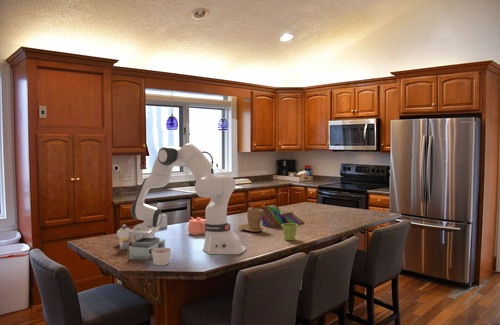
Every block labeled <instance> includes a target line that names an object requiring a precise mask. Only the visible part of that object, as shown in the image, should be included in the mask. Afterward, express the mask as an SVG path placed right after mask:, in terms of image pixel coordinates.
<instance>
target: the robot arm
mask: <svg viewBox="0 0 500 325" xmlns="http://www.w3.org/2000/svg"><path fill="white" fill-rule="evenodd" d="M174 167H186V168H187V169H189V171H190V172H191V174H192V175H193V177H194V179H195V185H194V190H195V191H194V192H195V193H196V195H197V196H198V197H199V198H205V199H206V198H207V199H209V198H210V201H209V203H208V204H207V206H206V207H205V219H206V223H205V235H204V237H205V238H204V242H203V243H204V244H203V247H202V251H203V252H205V253H206V254H209V255H240V254H243V253H244V252H245V251H247V247H246V246H245V245H242V240H241V237H240V236H239V235H238V234H237V233H235V232H234V231H232V230H231V226H232V224H231V223H229V222H228V218H227V217H228V216H227V215H228V210H227V209H228V205H229V200H230V199H231V196H232V193H234V191H235V190H236V184H237V183H236V181H235V179H234V177H233V176H231V175H226V174H219V175H215V174H213V173H212V168H213V167H212V164H211V161H210V160H209V159H208V158H207V157H206V155H205V154H204V153H203V152H202V150H200V149H199V148H198V147H197V146H195V144H192V143H186V144H184V145H182V146H170V145H169V146H163V147H161V148H160V149H159V150H158V151H157V156H156V157H155V160H154V162H153V165H152V167H151V168H152V169H151V172H150V175H149V176H148V177H146V178H144V179H143V181H142V183H141V186H140V187H139V190H138V193H137V195H136V198H135V200H134V201H133V203H132V206H131V207H130V209H129V210H130V214H131V217H132V218H133V219H137V220H141V221H143V222H141V223H138V224H135V225H134V227H133V228H129V239H134V240H138V239H140V238H142V237H143V238H156V236H155V234H156V233H157V232H158V231H159V230H160V229H159V227H160V225H159V224H160V222H161V219H162V214H163V213H162V211H161V209H160V208H158V207H156V206H153V205H149V204H146V203H145V200H146V198H147V195H148V193H149V191H150V190H151V189H160V188H164V187H165V186H167V185H168V184H169V182H170V180H171V176H172V172H173V168H174ZM116 236H117V238H119V239H120V231H119V229H118V230H117V231H116Z"/></svg>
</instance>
